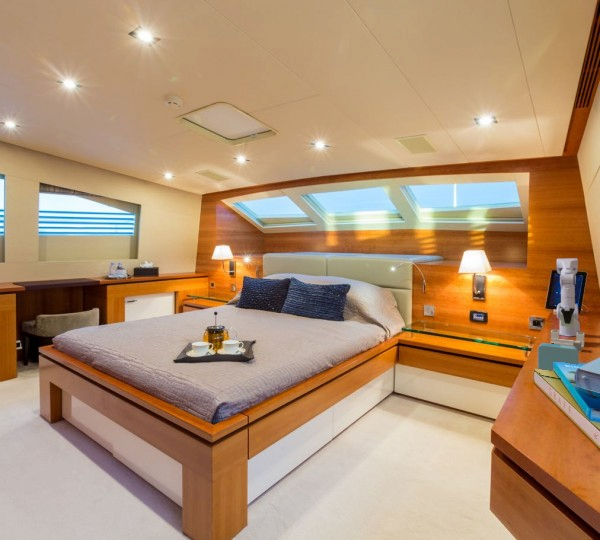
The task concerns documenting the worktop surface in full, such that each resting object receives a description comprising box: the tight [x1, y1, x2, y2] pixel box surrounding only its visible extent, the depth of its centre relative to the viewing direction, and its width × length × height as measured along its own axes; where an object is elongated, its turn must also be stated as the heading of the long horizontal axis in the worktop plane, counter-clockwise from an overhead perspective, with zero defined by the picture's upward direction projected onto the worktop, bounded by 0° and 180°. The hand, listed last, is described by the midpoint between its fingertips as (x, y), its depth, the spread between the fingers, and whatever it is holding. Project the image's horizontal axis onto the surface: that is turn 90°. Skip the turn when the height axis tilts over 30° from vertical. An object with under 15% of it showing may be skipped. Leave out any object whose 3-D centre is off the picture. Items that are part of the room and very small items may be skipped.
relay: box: [573, 340, 583, 352], centre depth 170 cm, size 5×3×4 cm, turn 140°
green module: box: [561, 313, 575, 327], centre depth 186 cm, size 4×6×7 cm
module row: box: [550, 329, 585, 348], centre depth 183 cm, size 10×14×6 cm
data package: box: [537, 342, 580, 371], centre depth 133 cm, size 12×4×12 cm, turn 48°
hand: (567, 322), depth 186 cm, fingers closed on green module, 4 cm apart
